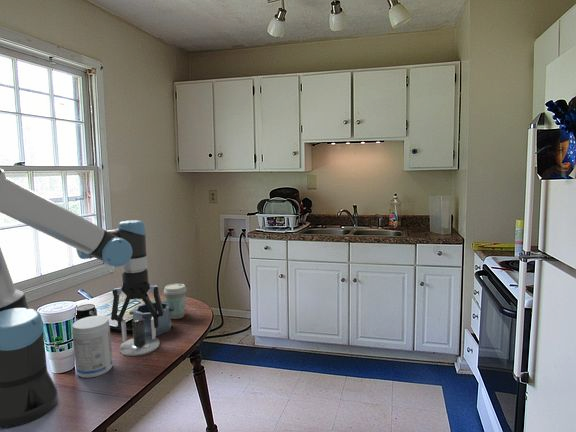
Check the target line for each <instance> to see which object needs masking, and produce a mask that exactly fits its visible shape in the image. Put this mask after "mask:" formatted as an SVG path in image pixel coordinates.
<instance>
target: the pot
mask: <svg viewBox="0 0 576 432" xmlns="http://www.w3.org/2000/svg"><path fill="white" fill-rule="evenodd" d="M151 302H152V301H151ZM161 303H162V307H163V310H164V313H163V316H160V317H158V322H159V325H158V328H156V336H157V337H158V336H160V335H163V334H164V333H168V332H171V328H172V319H171V311H174V307H170V304H169V303H166V301H162V300H161ZM152 304H153V306H154V307H155V309H156V311H157V312H158V310H157V306H156V302H155V301H153V302H152ZM129 315H130V316H131V315H132V318H133V320H134V319H137V318H143V319H144V324H145V336H151V337H152V328H151V318H152V315H151V313H150V311H149V309H148V308H147V306H146V304H145V303H143V304H140V305H136V306H135V307H134V308H133V310H132V309H131V310H129ZM133 320H132V321H133Z"/></svg>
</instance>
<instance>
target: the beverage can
mask: <svg viewBox="0 0 576 432" xmlns="http://www.w3.org/2000/svg"><path fill="white" fill-rule="evenodd" d="M76 307H77V315H76V321H77V320H80V319H82V318H85V317H90V316H98V309H97V308H96V305H95V304H94V303H86V304H81V305H78V306H76Z"/></svg>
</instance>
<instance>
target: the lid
mask: <svg viewBox="0 0 576 432" xmlns="http://www.w3.org/2000/svg"><path fill="white" fill-rule="evenodd" d="M131 323H132V338H130V339H128V340H127V339H126V341H124V342H122V343H121V344H120V346H119V353H120V354H121V355H123V356H126V357H137V356H138V357H139V356H143V355H147V354H150V353H152V352H154V351H155V350H157V349H158V348H159V347H160V339H159V337H158V338H157V337H155V339H152V336H145V324H144V319H143V318H137V319H134V320H132V321H131Z"/></svg>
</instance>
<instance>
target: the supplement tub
mask: <svg viewBox="0 0 576 432" xmlns="http://www.w3.org/2000/svg"><path fill="white" fill-rule="evenodd" d="M71 330H72V332H71V333H72V343H73V344H72V345H73V351H74V352H73V354H74V360H75V362H74V363H75V372H76V374H77V376H79V377H80V378H86V379H87V378H90V379H91V378H96V377H100V376H102V375H105V374H106V373H108V372H109V371H110V370H111V369H112V367H113V365H114V362H113V349H112V340H111V338H112V337H111V327H110V322H109V318H108V316H106V315H105V316H104V315H97V316H90V317H85V318H82V319H80V320H77V321H76V322H75V321H74V322H72V329H71Z"/></svg>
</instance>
